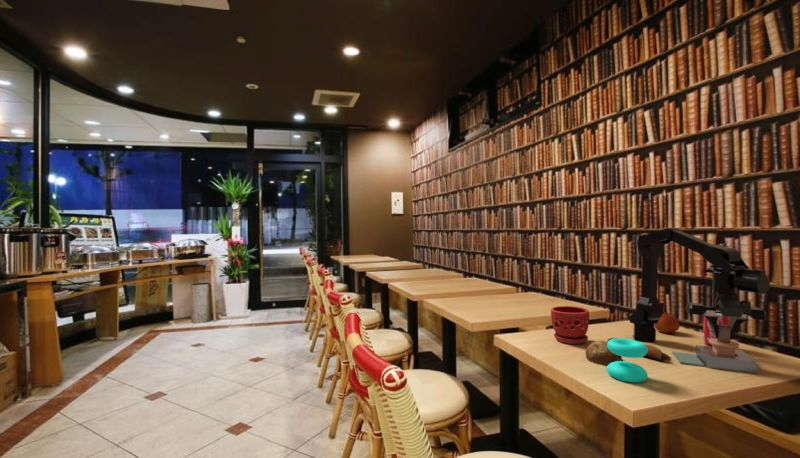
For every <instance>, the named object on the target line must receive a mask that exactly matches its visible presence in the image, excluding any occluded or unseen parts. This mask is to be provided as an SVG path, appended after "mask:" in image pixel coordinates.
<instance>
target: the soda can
mask: <svg viewBox="0 0 800 458" xmlns="http://www.w3.org/2000/svg"><path fill="white" fill-rule="evenodd" d="M715 316H716V317H718V319H717V325H728V326H729V324H730V319H729V318H728V317H726V316H723V315H722V314H720V313H715ZM702 334H703V344H704V346H709V347H713V345H711V344H709V339H713V338H715V339H717V338H716V337H715V335H714V333H713V330H712V328H711V326H710V323H709V322H708V320H707V318H705V317H704V316H703V333H702Z"/></svg>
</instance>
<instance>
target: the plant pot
mask: <svg viewBox="0 0 800 458" xmlns="http://www.w3.org/2000/svg"><path fill="white" fill-rule="evenodd" d="M550 318H551V324H552V327H553V330H554V333H553V337H554V338H555V339H556V340H557V341H559V342H561V343H564V344H569V345H579V344H580V345H581V344H584V343H586V342H587V341H588V340H589V337H588V336H587V333H588V330H589V322H590V311H589V309H588V308H584V307H581V306H573V305H571V306H570V305H563V306H561V305H560V306H554V307H551V309H550Z"/></svg>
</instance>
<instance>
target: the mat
mask: <svg viewBox="0 0 800 458" xmlns="http://www.w3.org/2000/svg"><path fill="white" fill-rule="evenodd" d="M672 355H674V357H675V358H676V360H677V361H678V362H679V364H680V365H687V366H695V367H703V368H704V367H705V365H704V364H703V363H702V362H701V361H700V360H699V359H698V358H697V356H696V353H691V352H690V353H688V352H680V351H672Z"/></svg>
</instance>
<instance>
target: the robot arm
mask: <svg viewBox="0 0 800 458" xmlns="http://www.w3.org/2000/svg"><path fill="white" fill-rule="evenodd" d="M672 242H673V243H676V244H678V245H680V246H682V247H683V248H686V249H689V250H690V251H693V252H695V253H697V254H699V255H700V256H701V257H702V258H703V259H704V260H705V261H707V262H708V263H709V264H711V265H710V266H709V268H707V269H705V271H704V273H707V274H708V273H711V274H712V289H711V294H712V302H711V306H705V305H704V304H702V303H698V302H687V303H686V304H685V311H686V312H687V313H688V314H690V315H697V316H703V318H704V317H705V318H707V320H708V322H709V323H710V326H711V328H712V330H713V333H714V335H715V337H716V338H718V326H717V319H718V317H716V316H715V313H720V314H722V315H723V316H726V317H727V318H728V317H729V326H730V327H731V333H730V341H733V339H734V337H735V335H736V333H737V331H738V329H739V327H740V326H741V325H742V324H743V323H744V322H748V321H749V319H748V317H749V318H751V319H752V320H759V321H767V312H766V311H765V310H764V309H762V308H759V307H758V306H757V307H755V306H752V303H751V301H750V300H739V298H738V297H739V296H738V295H739V294H738V293H737V290H738V291H741V292H748V293H754V294H755V293H756V294H761V295H764V294H766V293H768V291H769V289H770V287H771V282H770V281H771V280H769V277H768V275H767V274H766V270H765V269H752V268H750V267H749V266H748V265H747V263H746V262H745V261H744V260H743V258H742V257H741V253H740V251H739V250H738V249H736V248H733V247H728V246H724V245H720V244H713V243H710V242H708V241H705V240H704V239H701V238H699V237H696V236H694V235H692V234H689V233H687V232H684V231H682V230H681V229H679V228H677V227H666V228H664V229H662V230H659V231H655V232H652V233H648V234H641V235H640V236H639V237H638V238H637V241H636V243H637V250H638V253H639V255H640V257H641V259H642V260H641V261H642V263H641V295H640V298H639V299H638V300H637V302H636V306H635V311H634V312H633V313H631V315H629V316H628V319H629V322H630V324H632V325H633V334H632V337H633V340H636V341H639V342H648V343H656V340H657V339H656V337H657V333H656V332H657V329H656V328H655V327H654V324H657V323H658V321H659V319H660V318H661V317H662V314H664V312H665V311H664V306H665V305H664V302H660V300H659V299H658V273H659V272H658V271H659V270H658V269H659V258H660V256H661V255H662V253H663V251H664V247H665V245H668V244H670V243H672Z"/></svg>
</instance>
